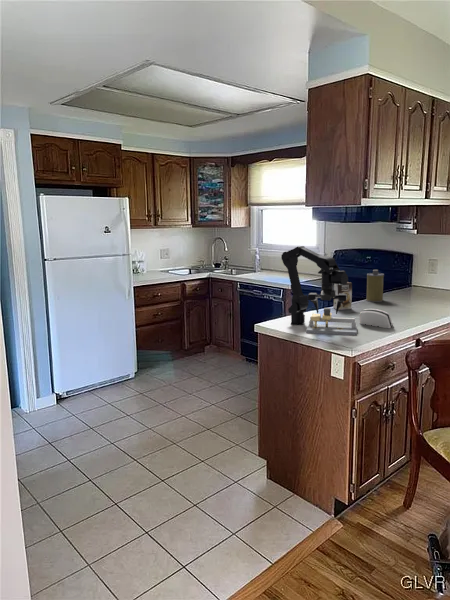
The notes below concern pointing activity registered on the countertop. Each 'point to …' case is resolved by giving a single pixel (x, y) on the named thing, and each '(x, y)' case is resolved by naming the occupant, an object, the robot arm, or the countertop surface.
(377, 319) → the white curved block
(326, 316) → the block
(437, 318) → the countertop surface
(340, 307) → the coffee box
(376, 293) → the canister
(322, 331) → the plate
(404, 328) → the countertop surface
